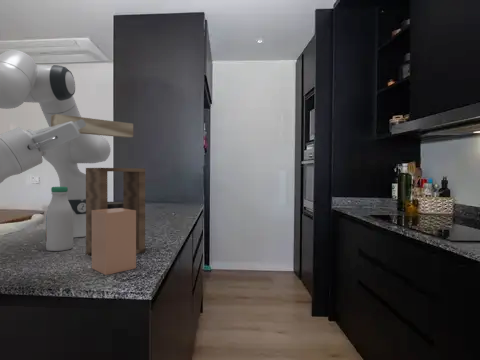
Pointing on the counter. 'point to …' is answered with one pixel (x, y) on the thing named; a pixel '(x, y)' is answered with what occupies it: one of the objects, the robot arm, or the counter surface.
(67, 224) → the milk bottle
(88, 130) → the bar
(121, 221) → the pedestal
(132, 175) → the wooden open box
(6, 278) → the counter surface
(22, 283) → the counter surface
